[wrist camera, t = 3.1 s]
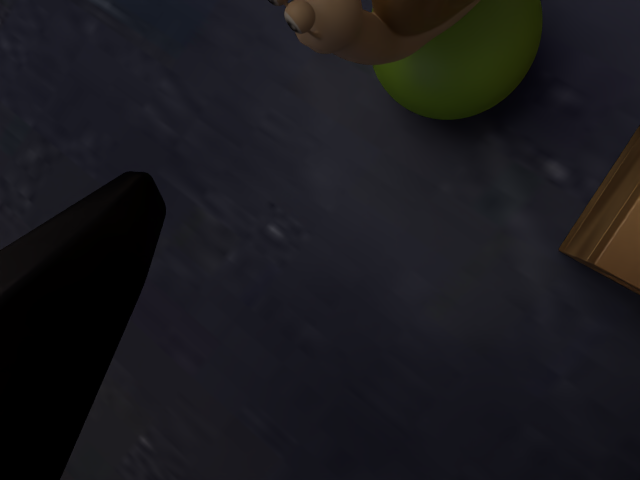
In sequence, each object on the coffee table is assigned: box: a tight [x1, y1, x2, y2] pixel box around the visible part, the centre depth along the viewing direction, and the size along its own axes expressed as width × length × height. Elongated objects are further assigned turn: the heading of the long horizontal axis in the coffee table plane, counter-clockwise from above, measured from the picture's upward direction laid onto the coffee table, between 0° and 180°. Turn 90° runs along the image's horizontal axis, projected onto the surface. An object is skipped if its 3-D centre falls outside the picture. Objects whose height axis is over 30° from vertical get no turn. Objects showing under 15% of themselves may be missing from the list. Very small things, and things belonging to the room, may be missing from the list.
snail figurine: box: [268, 0, 542, 120], centre depth 14 cm, size 5×6×12 cm
